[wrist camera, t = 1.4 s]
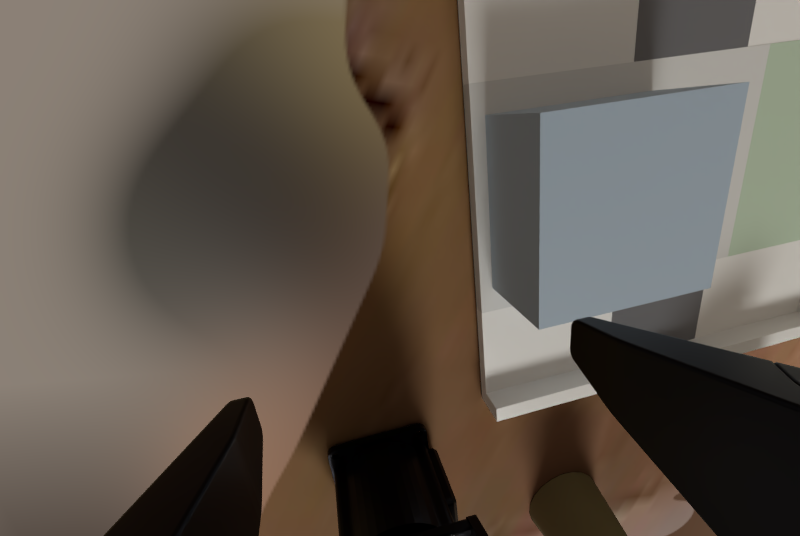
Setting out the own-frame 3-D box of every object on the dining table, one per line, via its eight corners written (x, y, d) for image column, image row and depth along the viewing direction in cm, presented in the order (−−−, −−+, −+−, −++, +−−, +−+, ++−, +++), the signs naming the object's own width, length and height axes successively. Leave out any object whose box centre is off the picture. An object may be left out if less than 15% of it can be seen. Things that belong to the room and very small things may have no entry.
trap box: (482, 397, 27) (502, 429, 24) (451, -94, 17) (480, -137, 14) (791, 315, 31) (839, 334, 28) (915, -121, 21) (1008, -158, 18)
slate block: (492, 288, 23) (538, 329, 18) (485, 114, 19) (540, 112, 15) (634, 256, 24) (710, 288, 20) (652, 90, 21) (749, 81, 16)
